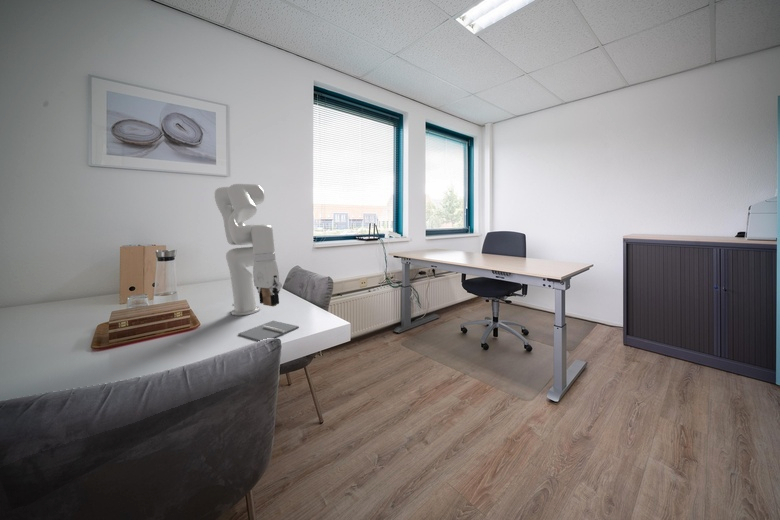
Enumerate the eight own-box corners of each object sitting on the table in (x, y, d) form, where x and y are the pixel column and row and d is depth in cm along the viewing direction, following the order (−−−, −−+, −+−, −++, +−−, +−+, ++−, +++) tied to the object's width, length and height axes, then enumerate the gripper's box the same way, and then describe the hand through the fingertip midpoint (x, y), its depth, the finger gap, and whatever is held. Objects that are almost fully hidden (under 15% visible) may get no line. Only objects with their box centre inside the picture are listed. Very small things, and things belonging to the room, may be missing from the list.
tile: (263, 304, 115) (261, 287, 114) (266, 303, 116) (264, 286, 116) (273, 306, 112) (271, 288, 111) (276, 305, 113) (274, 287, 112)
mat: (238, 335, 114) (237, 331, 114) (273, 321, 128) (272, 318, 128) (264, 342, 106) (263, 338, 106) (298, 327, 120) (298, 323, 119)
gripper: (242, 258, 113) (247, 303, 115) (270, 259, 104) (276, 308, 107) (259, 255, 119) (264, 298, 122) (288, 256, 110) (292, 303, 113)
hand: (269, 303), depth 114 cm, fingers closed on tile, 6 cm apart
